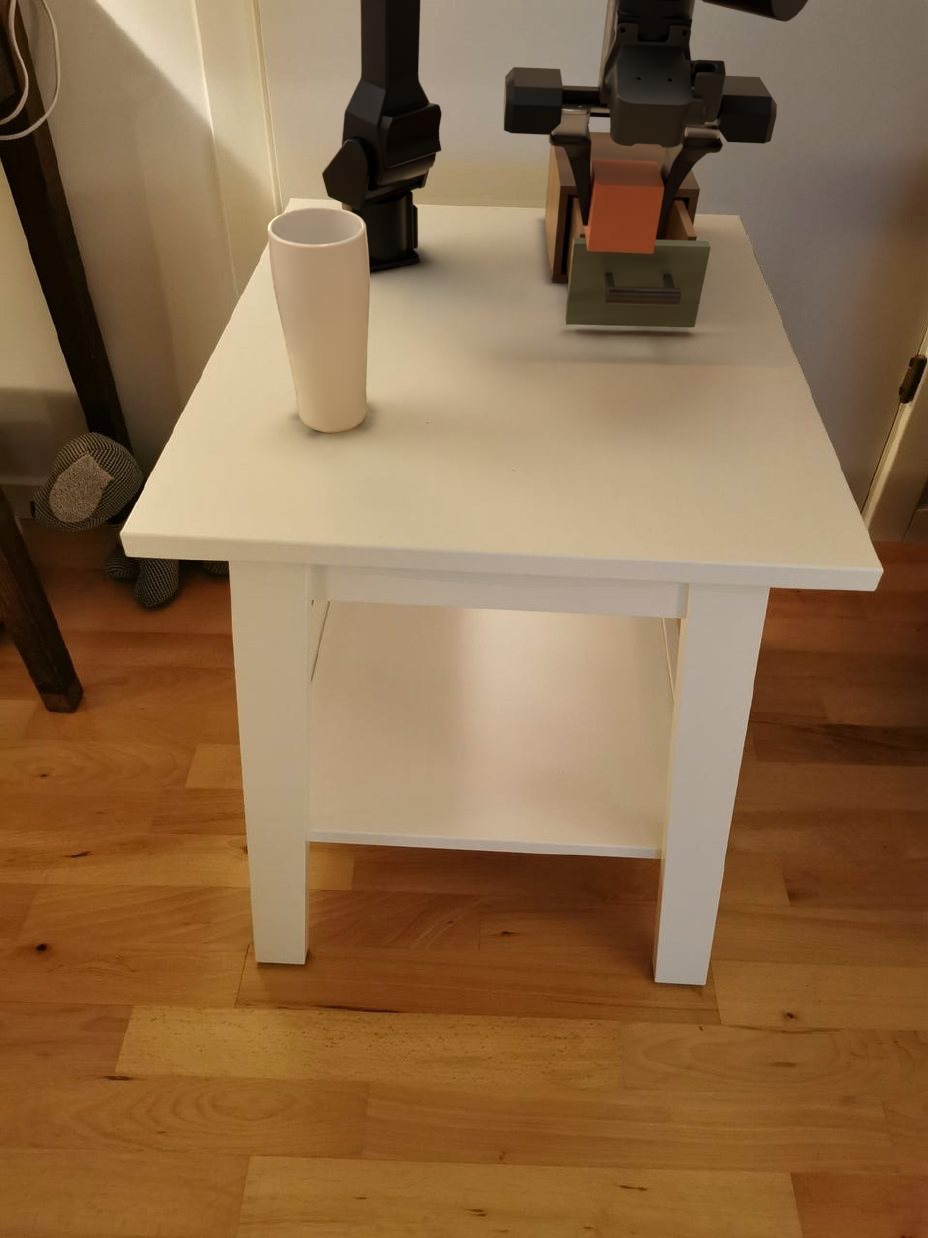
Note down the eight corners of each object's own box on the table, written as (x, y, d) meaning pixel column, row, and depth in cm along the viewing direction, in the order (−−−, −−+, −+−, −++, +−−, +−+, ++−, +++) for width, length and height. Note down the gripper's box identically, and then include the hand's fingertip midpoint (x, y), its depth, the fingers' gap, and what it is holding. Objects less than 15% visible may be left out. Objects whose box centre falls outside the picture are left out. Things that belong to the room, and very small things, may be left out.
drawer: (702, 352, 83) (720, 269, 78) (569, 348, 83) (577, 265, 77) (672, 261, 95) (686, 185, 90) (556, 258, 95) (563, 182, 90)
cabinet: (682, 285, 94) (700, 188, 87) (551, 282, 94) (560, 185, 87) (661, 224, 104) (676, 133, 98) (544, 221, 104) (551, 130, 98)
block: (653, 253, 74) (664, 186, 70) (587, 251, 74) (595, 183, 70) (646, 226, 77) (656, 160, 74) (583, 223, 77) (591, 158, 74)
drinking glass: (363, 446, 73) (351, 251, 63) (277, 434, 74) (251, 240, 64) (386, 399, 78) (378, 210, 67) (305, 389, 79) (285, 201, 68)
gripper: (512, 14, 58) (497, 267, 69) (823, 27, 58) (760, 277, 69) (510, -28, 66) (498, 204, 77) (784, -17, 66) (733, 213, 77)
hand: (619, 225), depth 75 cm, fingers closed on block, 5 cm apart
